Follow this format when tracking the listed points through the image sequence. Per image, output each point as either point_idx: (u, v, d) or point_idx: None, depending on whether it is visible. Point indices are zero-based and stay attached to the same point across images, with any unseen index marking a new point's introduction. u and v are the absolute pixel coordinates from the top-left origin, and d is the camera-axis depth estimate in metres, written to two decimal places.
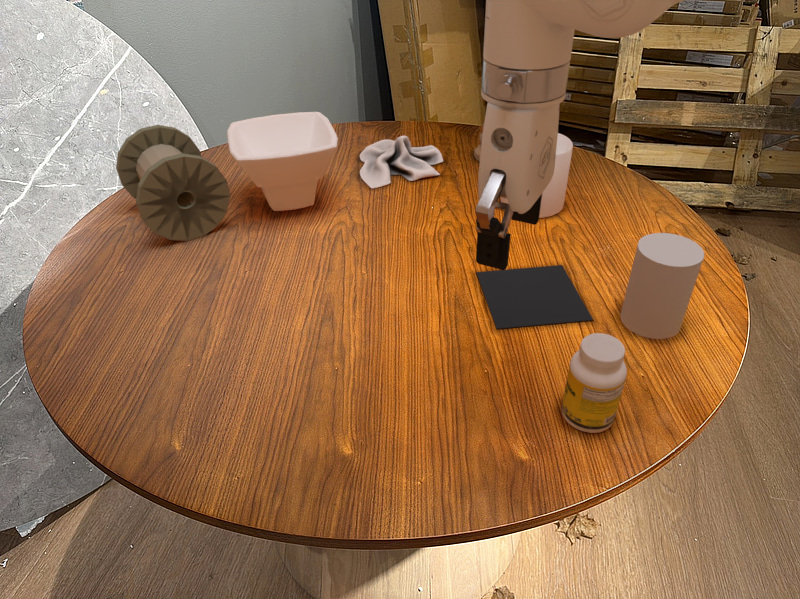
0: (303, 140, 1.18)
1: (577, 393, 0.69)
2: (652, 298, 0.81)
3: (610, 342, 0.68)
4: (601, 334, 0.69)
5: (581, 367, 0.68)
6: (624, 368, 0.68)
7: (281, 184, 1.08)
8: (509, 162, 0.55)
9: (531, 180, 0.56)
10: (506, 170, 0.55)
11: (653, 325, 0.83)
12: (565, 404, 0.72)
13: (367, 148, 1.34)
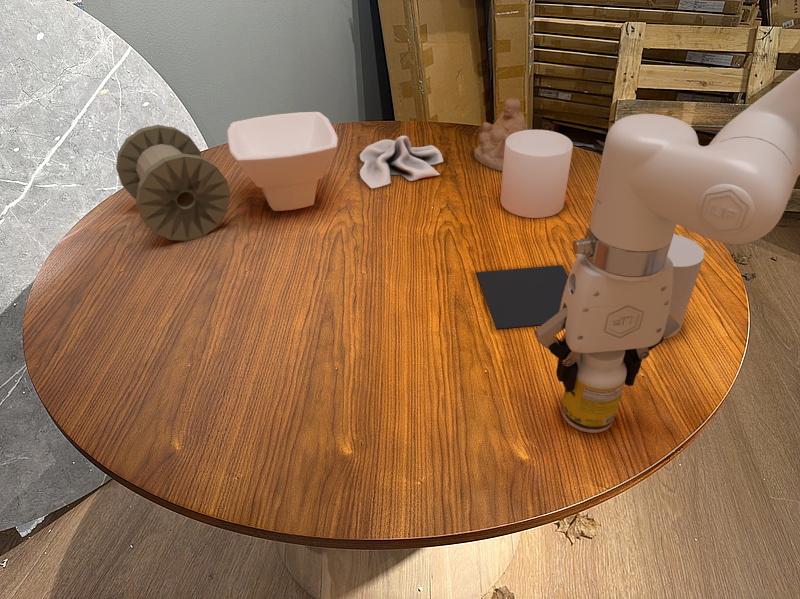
0: (303, 140, 1.18)
1: (577, 393, 0.69)
2: None
3: None
4: None
5: (580, 367, 0.68)
6: (624, 368, 0.68)
7: (281, 184, 1.08)
8: (570, 304, 0.62)
9: (586, 329, 0.62)
10: (568, 313, 0.63)
11: None
12: (565, 404, 0.72)
13: (367, 148, 1.34)
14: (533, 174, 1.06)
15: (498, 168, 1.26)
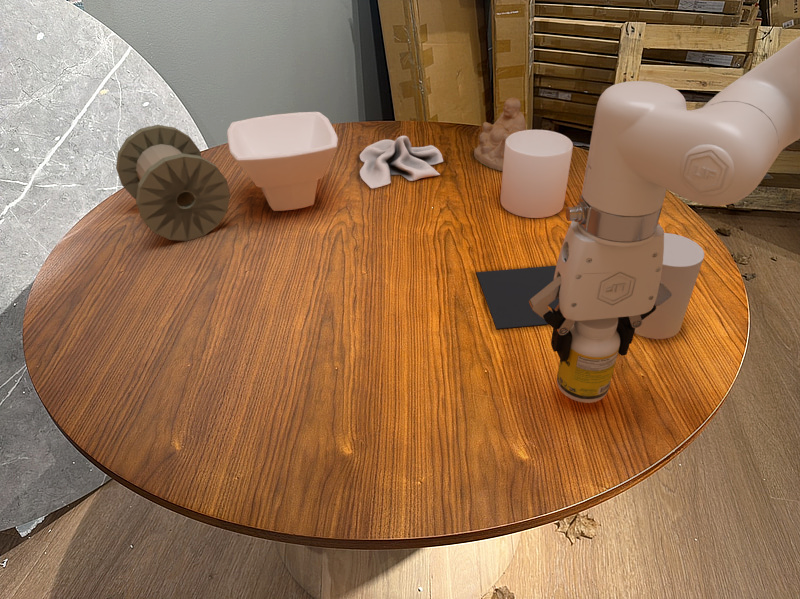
0: (303, 140, 1.18)
1: (571, 363, 0.70)
2: None
3: None
4: None
5: (575, 336, 0.69)
6: (617, 337, 0.69)
7: (281, 184, 1.08)
8: (564, 272, 0.63)
9: (579, 296, 0.63)
10: (561, 281, 0.64)
11: (653, 325, 0.83)
12: (560, 375, 0.73)
13: (367, 148, 1.34)
14: (533, 174, 1.06)
15: (498, 168, 1.26)
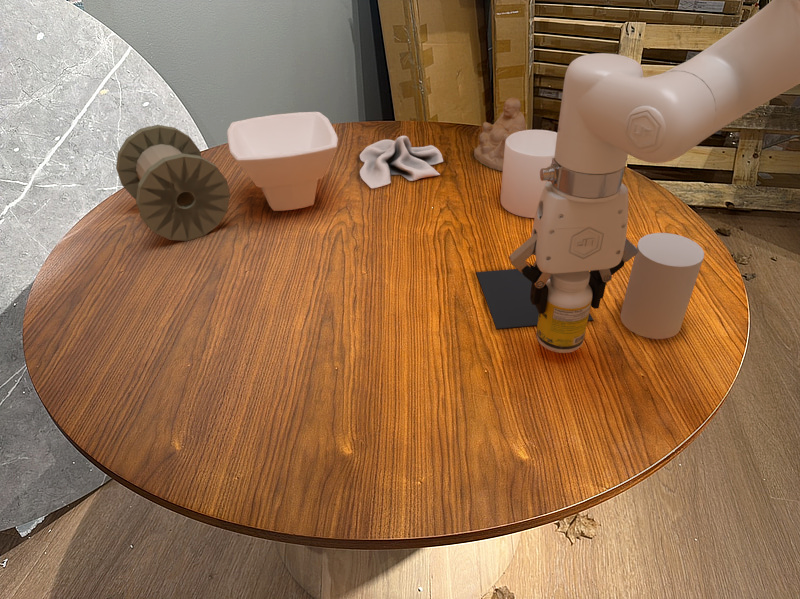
0: (303, 140, 1.18)
1: (548, 315, 0.77)
2: (652, 298, 0.81)
3: None
4: None
5: (551, 290, 0.76)
6: (590, 291, 0.76)
7: (281, 184, 1.08)
8: (539, 228, 0.70)
9: (553, 250, 0.70)
10: (537, 237, 0.71)
11: (653, 325, 0.83)
12: (539, 328, 0.80)
13: (367, 148, 1.34)
14: (533, 174, 1.06)
15: (498, 168, 1.26)
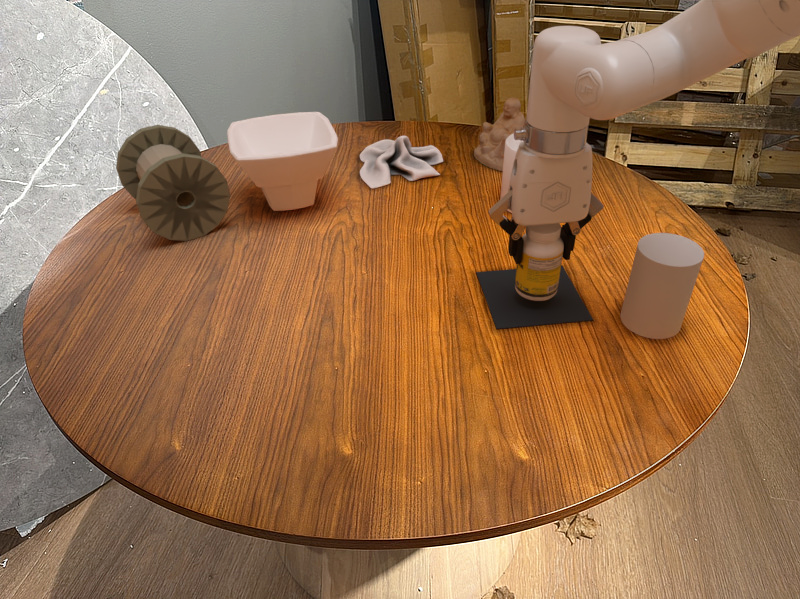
0: (303, 140, 1.18)
1: (524, 265, 0.86)
2: (652, 298, 0.81)
3: None
4: None
5: (526, 242, 0.85)
6: (561, 243, 0.85)
7: (281, 184, 1.08)
8: (514, 184, 0.79)
9: (526, 203, 0.79)
10: (512, 192, 0.80)
11: (653, 325, 0.83)
12: (516, 279, 0.89)
13: (367, 148, 1.34)
14: None
15: (498, 168, 1.26)
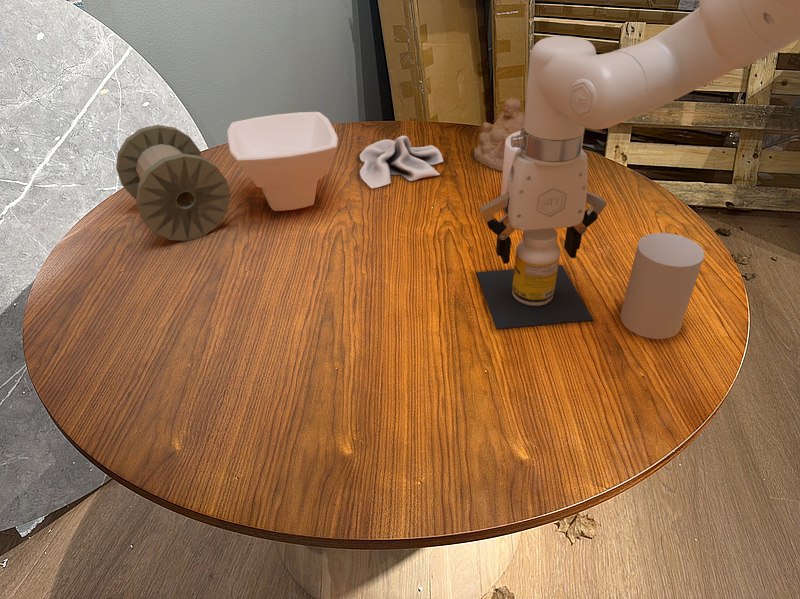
0: (303, 140, 1.18)
1: (521, 271, 0.88)
2: (652, 298, 0.81)
3: (546, 229, 0.86)
4: None
5: (523, 249, 0.87)
6: (557, 250, 0.87)
7: (281, 184, 1.08)
8: (511, 189, 0.80)
9: (523, 208, 0.80)
10: (510, 194, 0.81)
11: (653, 325, 0.83)
12: (514, 284, 0.91)
13: (367, 148, 1.34)
14: None
15: (498, 168, 1.26)
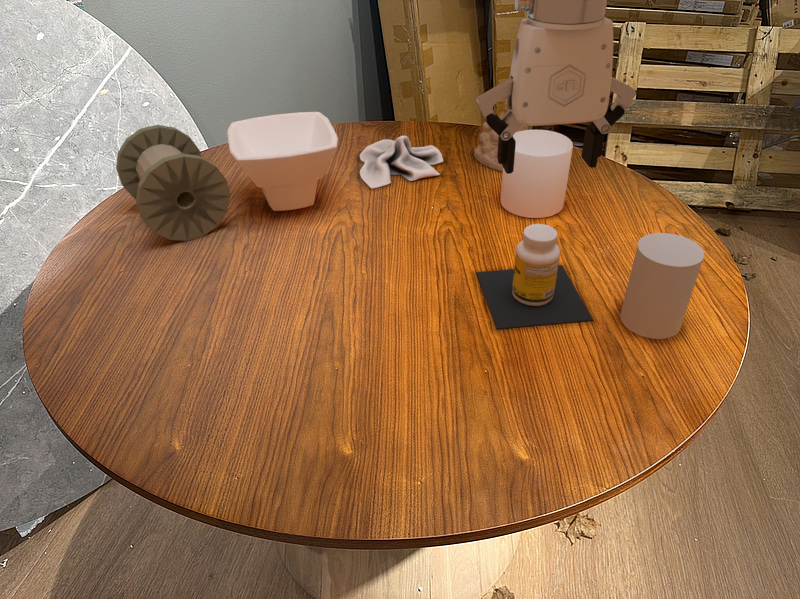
0: (303, 140, 1.18)
1: (521, 271, 0.88)
2: (652, 298, 0.81)
3: (546, 229, 0.86)
4: (540, 224, 0.88)
5: (523, 249, 0.87)
6: (557, 250, 0.87)
7: (281, 184, 1.08)
8: (515, 70, 0.64)
9: (530, 94, 0.63)
10: (514, 78, 0.64)
11: (653, 325, 0.83)
12: (514, 284, 0.91)
13: (367, 148, 1.34)
14: (533, 174, 1.06)
15: (498, 168, 1.26)
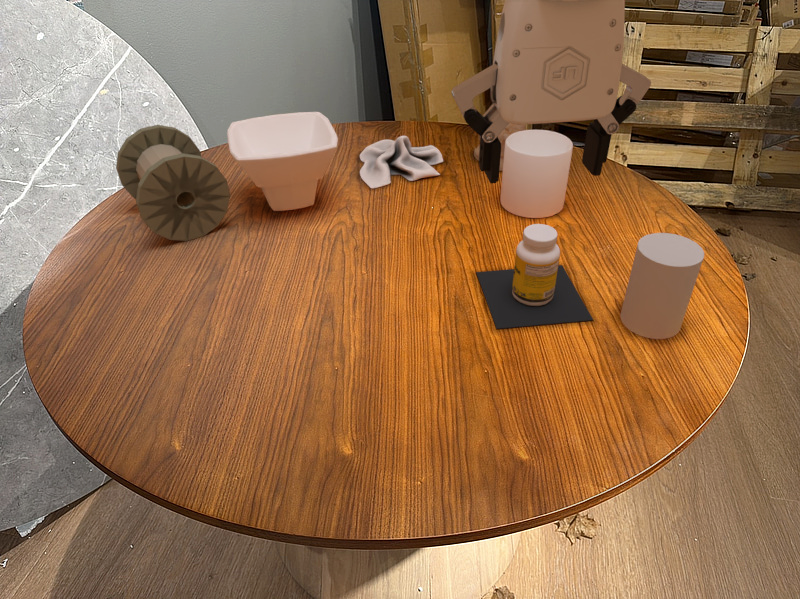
0: (303, 140, 1.18)
1: (521, 271, 0.88)
2: (652, 298, 0.81)
3: (546, 229, 0.86)
4: (540, 224, 0.88)
5: (523, 249, 0.87)
6: (557, 250, 0.87)
7: (281, 184, 1.08)
8: (500, 54, 0.50)
9: (519, 84, 0.50)
10: (499, 63, 0.51)
11: (653, 325, 0.83)
12: (514, 284, 0.91)
13: (367, 148, 1.34)
14: (533, 174, 1.06)
15: None
